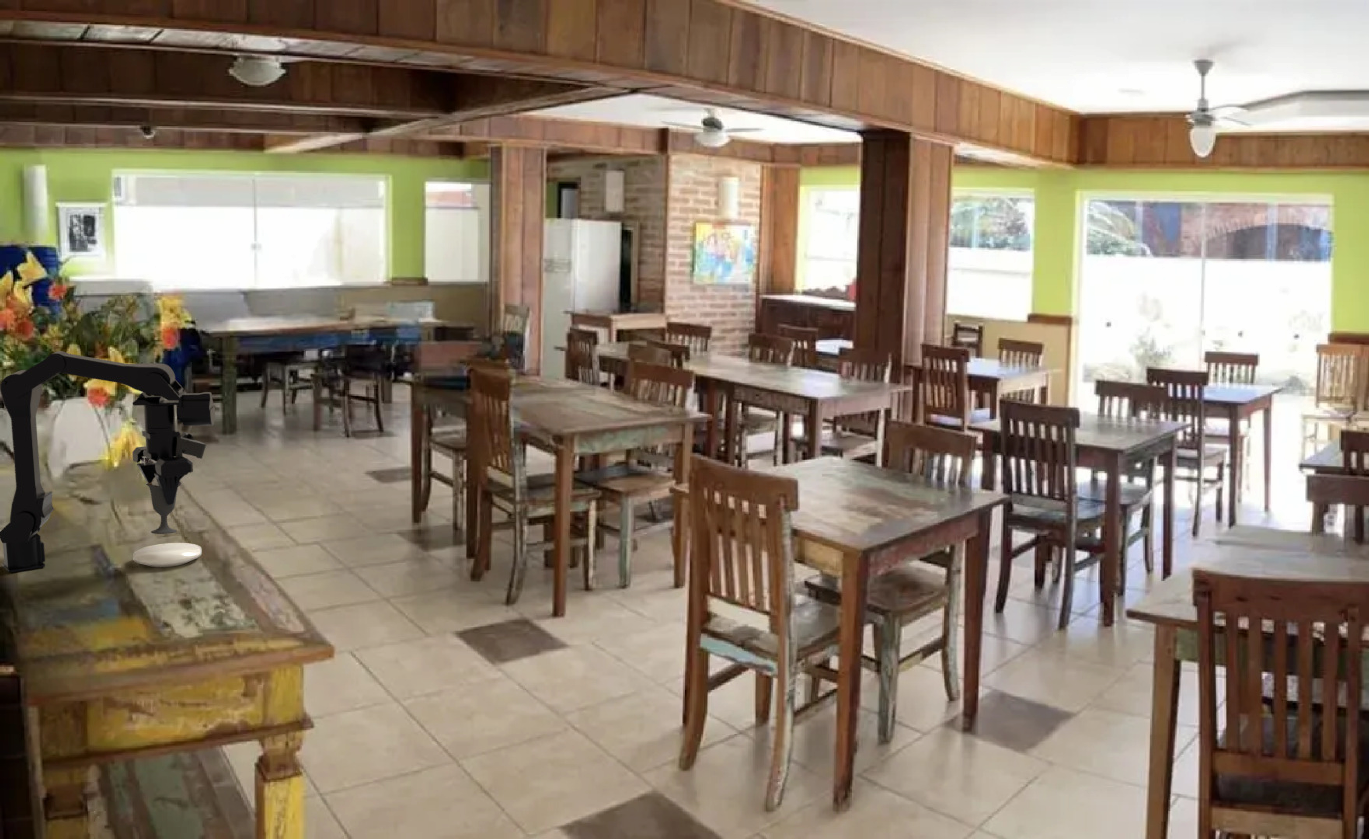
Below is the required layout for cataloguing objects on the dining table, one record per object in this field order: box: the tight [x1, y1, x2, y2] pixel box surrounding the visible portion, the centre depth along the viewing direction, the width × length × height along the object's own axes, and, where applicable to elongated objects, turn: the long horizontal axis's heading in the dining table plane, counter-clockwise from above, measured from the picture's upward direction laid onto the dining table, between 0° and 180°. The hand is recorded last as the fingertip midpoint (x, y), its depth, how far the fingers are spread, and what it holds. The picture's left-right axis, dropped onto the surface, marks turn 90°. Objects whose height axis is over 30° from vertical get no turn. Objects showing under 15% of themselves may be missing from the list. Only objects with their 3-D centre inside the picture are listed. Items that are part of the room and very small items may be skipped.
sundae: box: [145, 477, 182, 535], centre depth 245 cm, size 7×7×15 cm
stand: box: [132, 542, 202, 568], centre depth 248 cm, size 13×13×2 cm
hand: (164, 500), depth 246 cm, fingers closed on sundae, 7 cm apart
